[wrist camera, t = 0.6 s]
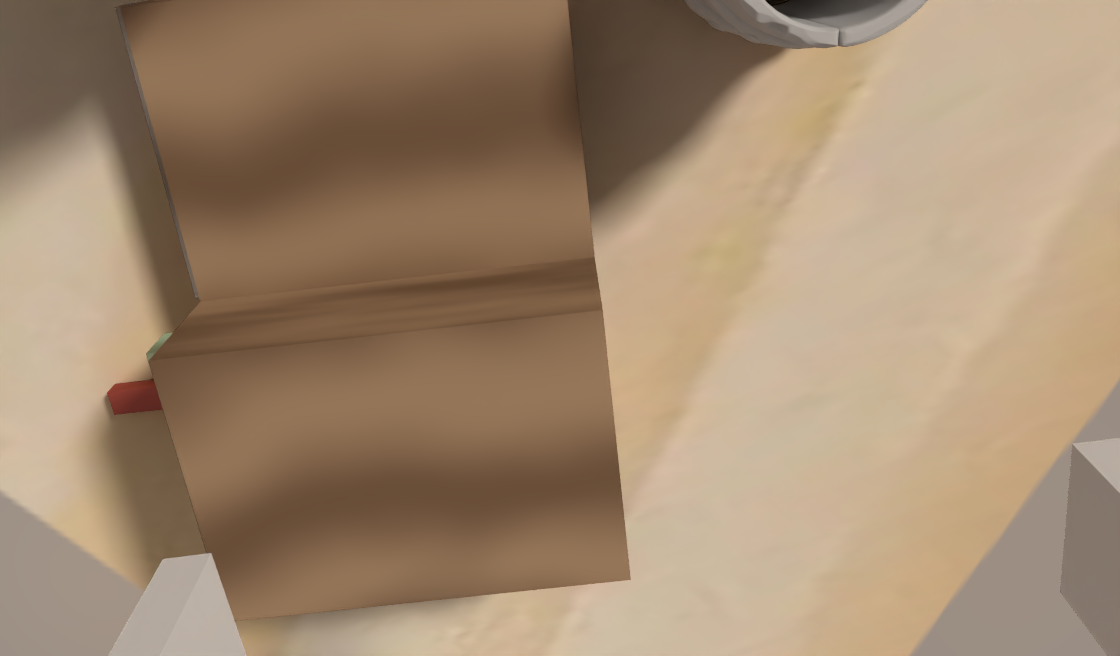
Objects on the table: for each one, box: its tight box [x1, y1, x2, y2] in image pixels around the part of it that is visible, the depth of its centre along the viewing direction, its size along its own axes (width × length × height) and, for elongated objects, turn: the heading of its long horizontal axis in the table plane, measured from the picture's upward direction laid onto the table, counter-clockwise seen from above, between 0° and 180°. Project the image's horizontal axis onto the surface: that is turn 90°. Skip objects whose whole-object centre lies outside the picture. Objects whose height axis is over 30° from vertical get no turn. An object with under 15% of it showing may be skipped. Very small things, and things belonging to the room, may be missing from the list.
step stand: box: [107, 0, 631, 621], centre depth 34 cm, size 20×20×9 cm
